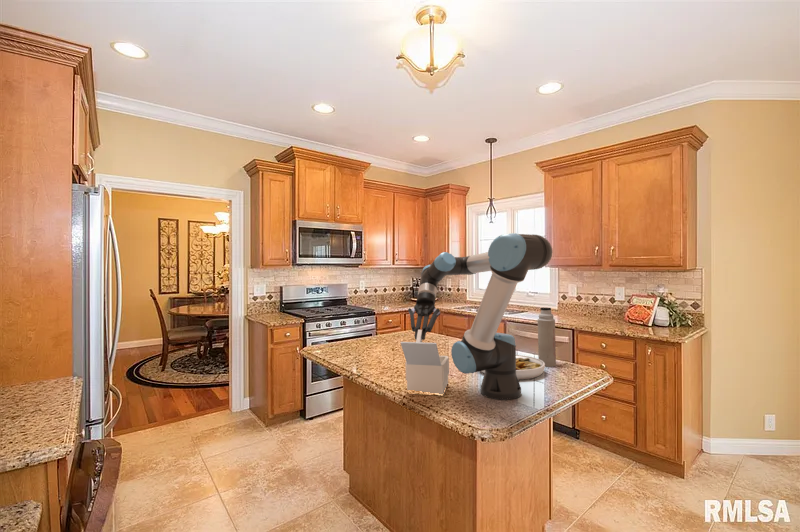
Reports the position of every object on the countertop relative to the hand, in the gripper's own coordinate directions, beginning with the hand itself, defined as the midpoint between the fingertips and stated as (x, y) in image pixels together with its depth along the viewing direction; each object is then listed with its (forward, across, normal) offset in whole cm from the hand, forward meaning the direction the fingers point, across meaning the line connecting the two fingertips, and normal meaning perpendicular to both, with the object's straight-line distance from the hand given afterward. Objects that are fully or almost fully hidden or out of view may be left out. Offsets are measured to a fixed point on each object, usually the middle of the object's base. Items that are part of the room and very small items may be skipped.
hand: (418, 346), depth 140 cm
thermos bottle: (-29, -50, -59) cm, 82 cm away
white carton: (+5, 0, -24) cm, 25 cm away
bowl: (-18, -32, -48) cm, 61 cm away
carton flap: (+1, -1, -4) cm, 4 cm away
